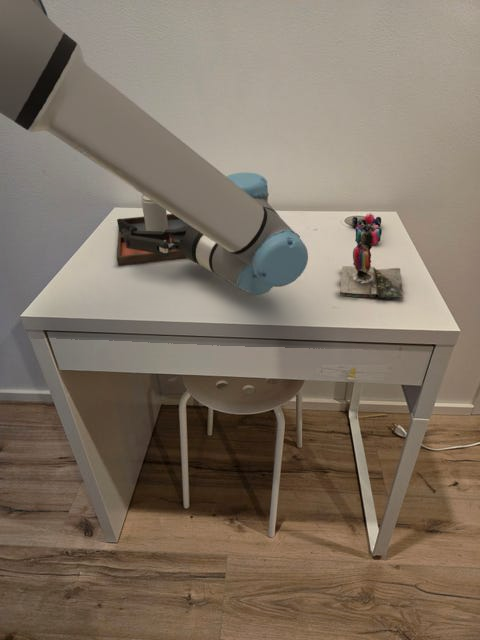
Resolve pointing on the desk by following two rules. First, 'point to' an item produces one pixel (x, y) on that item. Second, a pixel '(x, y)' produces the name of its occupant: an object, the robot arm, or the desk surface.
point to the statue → (369, 268)
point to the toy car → (362, 221)
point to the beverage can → (154, 215)
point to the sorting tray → (138, 256)
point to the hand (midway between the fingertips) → (147, 215)
